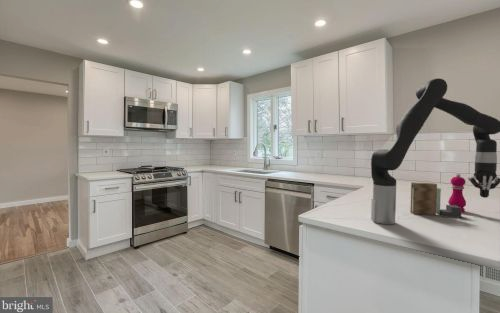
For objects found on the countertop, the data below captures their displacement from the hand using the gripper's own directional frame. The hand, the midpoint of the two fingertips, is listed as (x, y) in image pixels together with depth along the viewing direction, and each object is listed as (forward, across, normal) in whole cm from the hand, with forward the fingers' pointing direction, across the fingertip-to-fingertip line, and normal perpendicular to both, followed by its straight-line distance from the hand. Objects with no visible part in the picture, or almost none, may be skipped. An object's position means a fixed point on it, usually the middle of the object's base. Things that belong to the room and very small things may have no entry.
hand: (484, 197), depth 116 cm
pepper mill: (+10, +6, -11) cm, 16 cm away
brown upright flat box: (+10, +26, 0) cm, 27 cm away
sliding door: (+10, +24, 0) cm, 26 cm away
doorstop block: (+10, +14, 0) cm, 18 cm away
